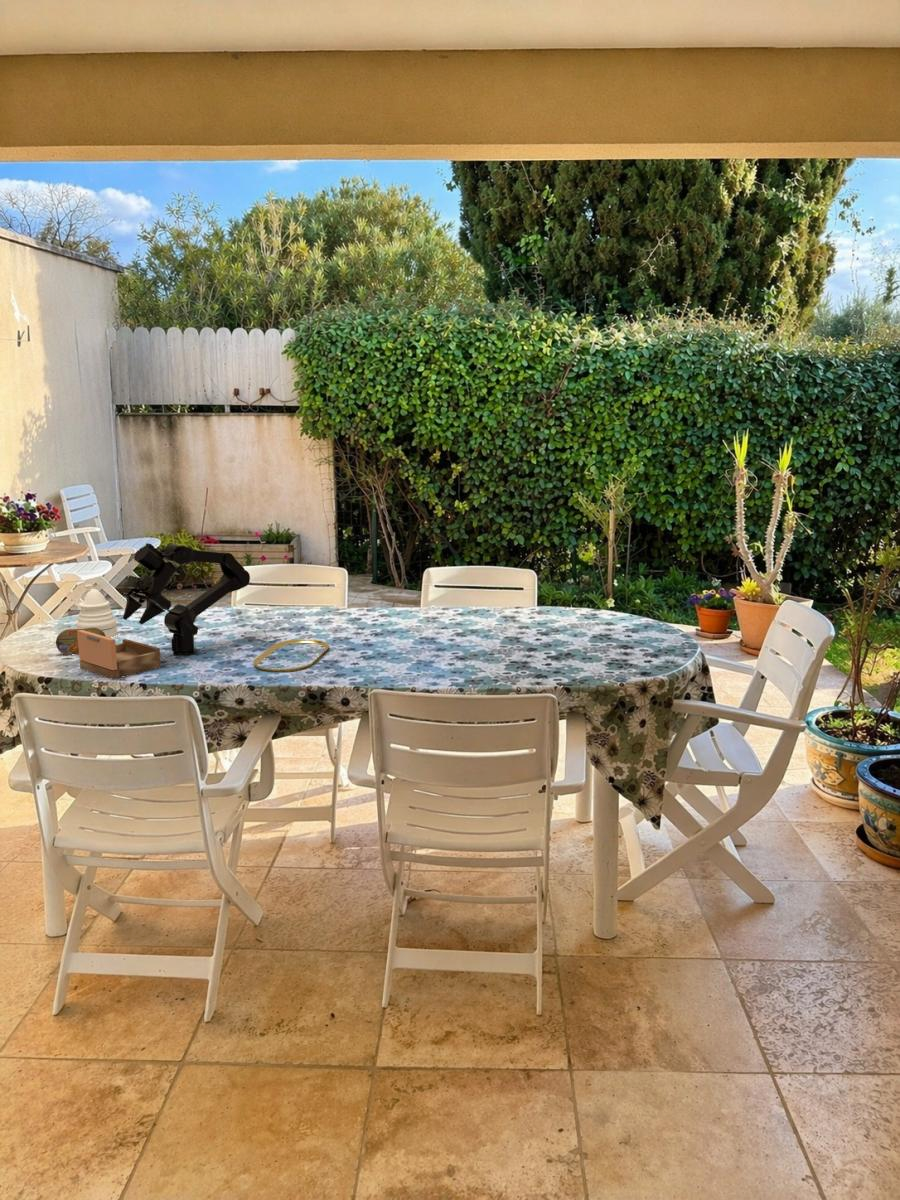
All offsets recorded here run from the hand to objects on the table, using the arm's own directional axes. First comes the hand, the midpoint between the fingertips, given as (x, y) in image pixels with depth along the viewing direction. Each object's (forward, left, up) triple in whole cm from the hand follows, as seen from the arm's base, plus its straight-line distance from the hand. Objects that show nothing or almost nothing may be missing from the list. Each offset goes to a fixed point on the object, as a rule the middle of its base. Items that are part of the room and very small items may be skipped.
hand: (132, 621), depth 280 cm
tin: (+18, -16, -14) cm, 28 cm away
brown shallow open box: (+4, +4, -13) cm, 14 cm away
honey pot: (+17, -38, -14) cm, 44 cm away
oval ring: (-48, +1, -14) cm, 50 cm away
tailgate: (+10, +9, -11) cm, 17 cm away
